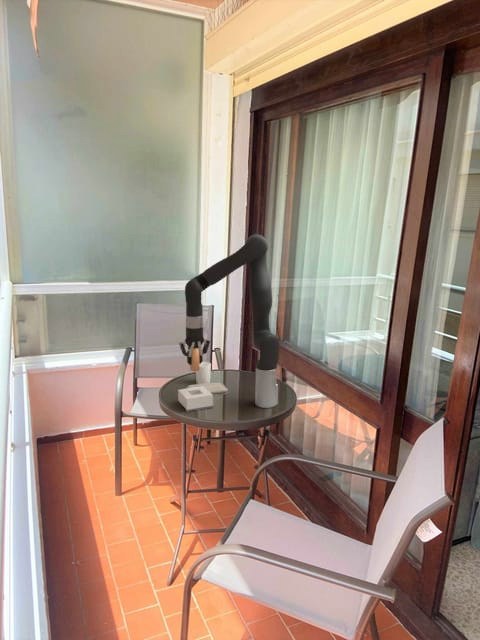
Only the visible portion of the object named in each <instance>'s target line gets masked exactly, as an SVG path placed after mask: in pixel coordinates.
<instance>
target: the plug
mask: <svg viewBox="0 0 480 640" xmlns="http://www.w3.org/2000/svg"><path fill="white" fill-rule="evenodd" d="M191 357H192V365H189V367H190V368H189V370H190V371H191V372H196V371H199V370H200V359H199V348H194V349H193V352H192V354H191Z"/></svg>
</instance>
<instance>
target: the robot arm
mask: <svg viewBox="0 0 480 640" xmlns="http://www.w3.org/2000/svg"><path fill="white" fill-rule="evenodd" d="M268 249H269V243H268V242H267V239H266V237H264V236H263V235H261V234H258V233H257V234H256V233H254V234H251V235H250V236H249V237H247V239H246V241H245V244H244V245H243V246H241V247H240V248H239V249H237V251H235V252H234V253H232V254H231V255H228V256H226V257H225V258H222V259H221V260H219V261H217V262H216V263H214V264H212V265H211V266H209V267H208V268H207V269H205V270H204V271H203V272H201V273H199V274H198V275H196V276H195V277H193V278H190V280H188V281H187V283H186V284H185V286H184V295H185V304H186V306H185V338H184V339H185V340H183V341H180V342H179V343H178V345H179V348H180V350H181V353H182V355H183V356H184V357H186V363H187V365H188V366H190V365H192V357H191V354H192V352H193V349H194V348H199V359H200V364H201V362H204V361H203V355H204V354H207V353H208V349H209V346H210V343H211V341H210V340H209V339H205V338H204V324H205V323H204V317H203V313H204V312H203V310H204V309H203V308H204V307H203V304H202V292H203V291H205V290H207V289H208V288H209V287H211V286H213V285H215V284H217V283H219V282H220V281H222V280H223V279H225V278H226V277H228V276H229V275H230V274H233V272H235V271H236V270H238V269H239V268H242V267H243V266H244V265H246V264H249V295H250V304H251V313H252V314H251V315H252V319H253V320H252V322H253V323H252V324H253V327H252V328H253V329H252V330H253V332H252V333H253V334H252V335H253V338H252V341H253V345H254V347H255V348H256V349H257V350H258V351H259V359H257V360H256V361H255V397H254V399H255V400H254V401H255V402H254V403H255V406H257V407H259V408H267V409H268V408H269V409H270V408H273V407H275V406H277V405H278V404H279V403H278V402H279V384H278V383H277V377H278V376H277V375H278V374H277V373H278V372H277V369H278V368H277V367H278V363H279V359H280V358H279V357H280V348H281V347H280V345H281V344H280V338H279V337H278V336H277V335H276V334H274V333H272V332H271V328H270V322H269V321H270V320H269V318H270V313H271V309H272V306H273V293H272V292H273V291H272V284H271V280H270V274H269V271H268V265H267V252H268ZM186 345H187V351H186ZM202 345H203V347H202Z"/></svg>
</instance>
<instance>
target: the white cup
mask: <svg viewBox="0 0 480 640" xmlns="http://www.w3.org/2000/svg"><path fill="white" fill-rule="evenodd" d="M211 372H212V363H211V362H210V361H209V362H208V361H202V362H201V364H200V370H199V371H195V378H196V379H195V380H196V384H203V383H209V382H211Z"/></svg>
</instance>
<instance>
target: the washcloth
mask: <svg viewBox="0 0 480 640" xmlns="http://www.w3.org/2000/svg"><path fill="white" fill-rule="evenodd" d="M200 386H204V387H205V388H206V389H207V390H208V391H209V392H210V393H211V394H213V396H221V395H228V394H229V392H228V391H229V389H228V388H227V387H226V386H225V384H223V382H211V381H210V382H209V383H203V384H197V383H196V384H190V385H188V386H187V387H186V389H187V388H193V387H200Z"/></svg>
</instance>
